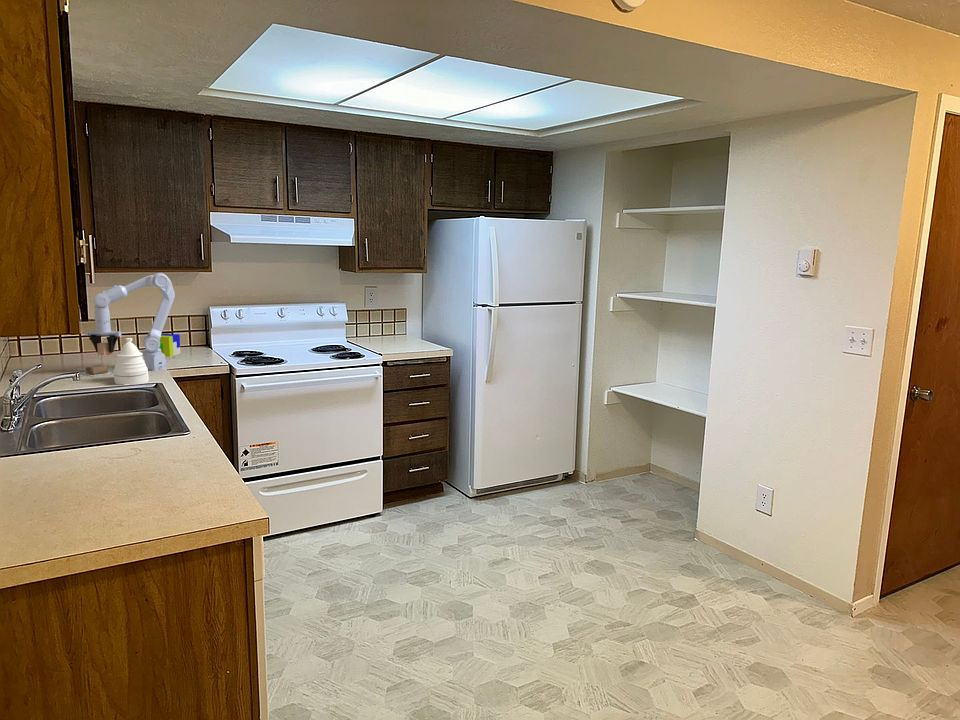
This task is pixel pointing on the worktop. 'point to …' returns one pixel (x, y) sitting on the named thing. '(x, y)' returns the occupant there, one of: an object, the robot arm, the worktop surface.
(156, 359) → the robot arm
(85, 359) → the worktop surface
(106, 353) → the top block
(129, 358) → the honey pot
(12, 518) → the worktop surface
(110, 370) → the build board
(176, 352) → the puzzle toy
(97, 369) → the base block
